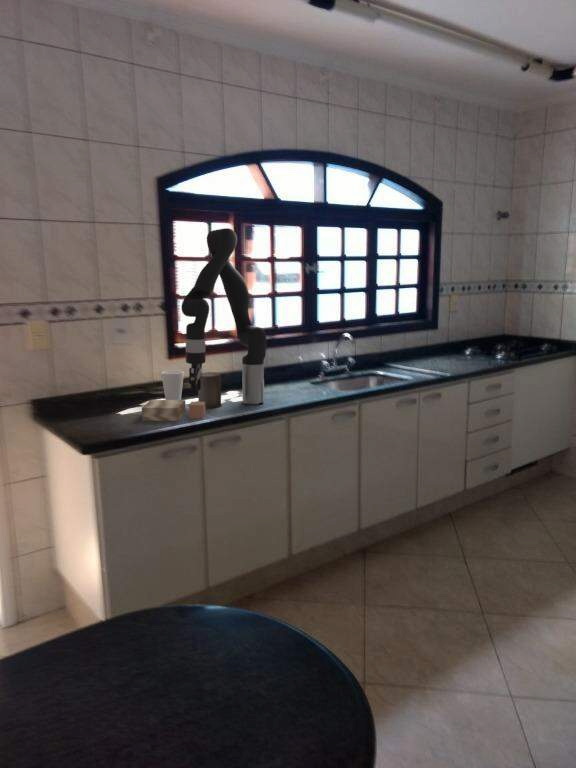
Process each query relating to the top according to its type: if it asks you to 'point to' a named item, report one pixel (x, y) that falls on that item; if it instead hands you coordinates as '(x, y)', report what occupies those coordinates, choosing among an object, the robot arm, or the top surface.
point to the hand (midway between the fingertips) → (195, 391)
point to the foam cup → (172, 384)
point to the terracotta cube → (197, 410)
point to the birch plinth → (163, 410)
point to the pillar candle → (210, 389)
